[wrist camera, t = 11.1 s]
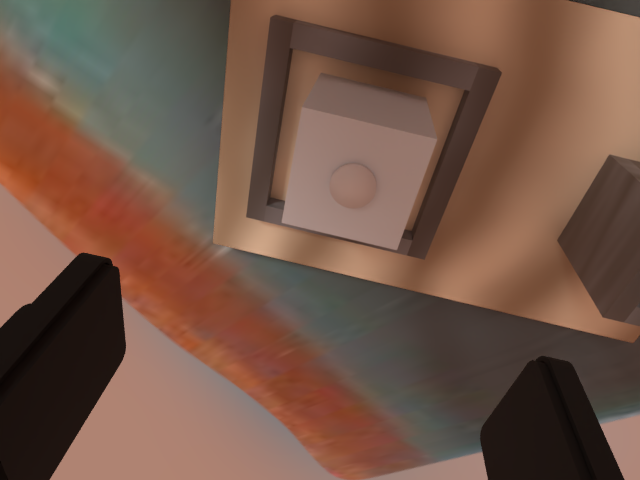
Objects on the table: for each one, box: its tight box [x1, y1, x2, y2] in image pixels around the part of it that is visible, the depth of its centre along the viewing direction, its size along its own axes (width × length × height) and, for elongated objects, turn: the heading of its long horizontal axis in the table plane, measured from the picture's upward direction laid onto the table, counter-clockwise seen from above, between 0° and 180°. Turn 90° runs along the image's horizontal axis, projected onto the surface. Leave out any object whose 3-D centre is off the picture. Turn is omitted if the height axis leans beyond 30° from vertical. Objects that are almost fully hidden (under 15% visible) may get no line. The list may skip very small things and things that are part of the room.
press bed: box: [213, 0, 640, 343], centre depth 20 cm, size 26×16×8 cm, turn 79°
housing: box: [282, 73, 437, 250], centre depth 19 cm, size 5×5×6 cm
